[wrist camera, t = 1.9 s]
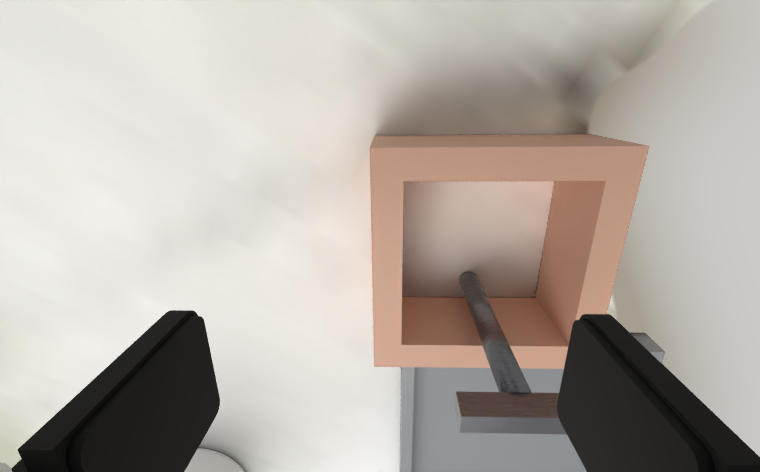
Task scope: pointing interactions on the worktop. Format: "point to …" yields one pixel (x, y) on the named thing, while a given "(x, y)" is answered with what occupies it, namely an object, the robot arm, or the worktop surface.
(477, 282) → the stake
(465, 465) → the tray
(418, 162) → the ring
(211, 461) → the milk bottle
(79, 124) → the worktop surface
